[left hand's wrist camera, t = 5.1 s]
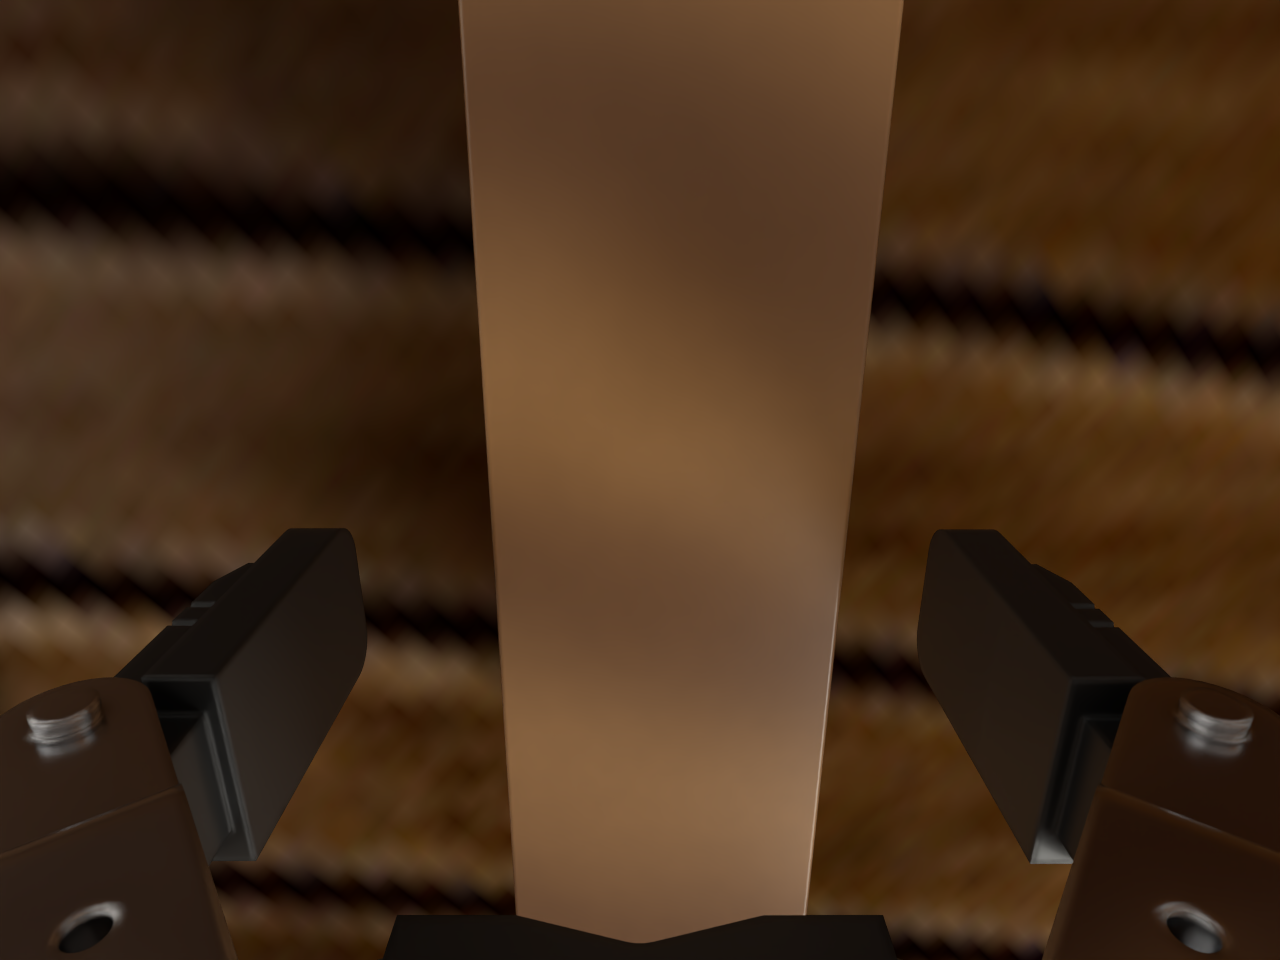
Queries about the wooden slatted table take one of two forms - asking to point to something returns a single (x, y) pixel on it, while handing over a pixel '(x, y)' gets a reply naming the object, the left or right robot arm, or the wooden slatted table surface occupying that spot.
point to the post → (671, 430)
